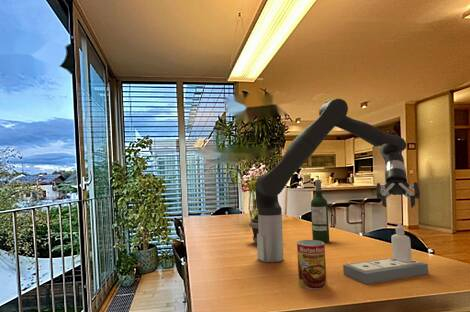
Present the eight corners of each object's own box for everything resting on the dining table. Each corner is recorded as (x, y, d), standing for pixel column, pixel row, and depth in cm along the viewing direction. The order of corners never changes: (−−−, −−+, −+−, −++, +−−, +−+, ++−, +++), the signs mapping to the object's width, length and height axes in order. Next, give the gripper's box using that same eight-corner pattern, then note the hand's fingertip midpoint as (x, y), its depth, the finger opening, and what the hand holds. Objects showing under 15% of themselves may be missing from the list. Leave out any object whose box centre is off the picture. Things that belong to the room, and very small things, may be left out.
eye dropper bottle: (404, 258, 101) (402, 221, 102) (413, 262, 96) (410, 224, 96) (391, 258, 101) (388, 222, 102) (399, 262, 96) (396, 224, 97)
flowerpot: (249, 240, 154) (248, 201, 156) (280, 240, 153) (278, 200, 155) (249, 246, 140) (248, 203, 141) (282, 246, 139) (281, 202, 140)
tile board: (366, 284, 87) (365, 272, 87) (343, 274, 96) (343, 263, 97) (428, 273, 95) (427, 263, 95) (401, 265, 104) (401, 255, 104)
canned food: (302, 289, 84) (301, 245, 85) (295, 280, 92) (294, 240, 93) (330, 288, 84) (328, 244, 85) (321, 279, 92) (319, 239, 93)
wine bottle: (313, 243, 144) (310, 180, 146) (312, 239, 152) (309, 179, 154) (330, 243, 143) (327, 179, 145) (328, 239, 150) (325, 179, 153)
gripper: (375, 168, 121) (376, 199, 110) (416, 166, 115) (421, 199, 104) (376, 181, 125) (377, 212, 114) (416, 180, 119) (421, 213, 108)
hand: (398, 205), depth 109 cm, fingers open, 8 cm apart
